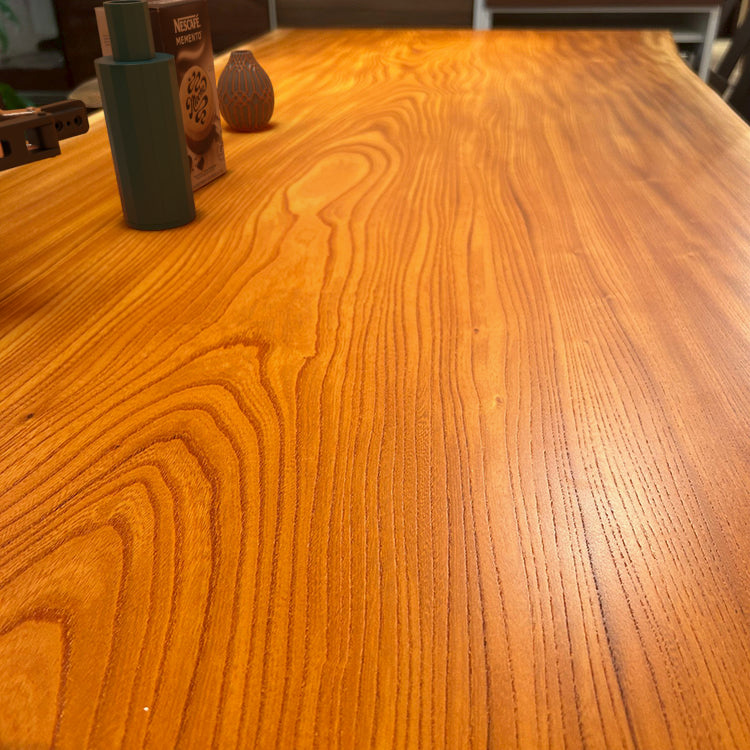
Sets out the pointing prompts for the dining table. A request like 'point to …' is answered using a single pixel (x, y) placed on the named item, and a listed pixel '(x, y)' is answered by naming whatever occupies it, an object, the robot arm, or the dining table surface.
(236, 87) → the vase
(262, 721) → the dining table surface
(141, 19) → the bottle
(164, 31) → the coffee box
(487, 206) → the dining table surface
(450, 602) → the dining table surface
